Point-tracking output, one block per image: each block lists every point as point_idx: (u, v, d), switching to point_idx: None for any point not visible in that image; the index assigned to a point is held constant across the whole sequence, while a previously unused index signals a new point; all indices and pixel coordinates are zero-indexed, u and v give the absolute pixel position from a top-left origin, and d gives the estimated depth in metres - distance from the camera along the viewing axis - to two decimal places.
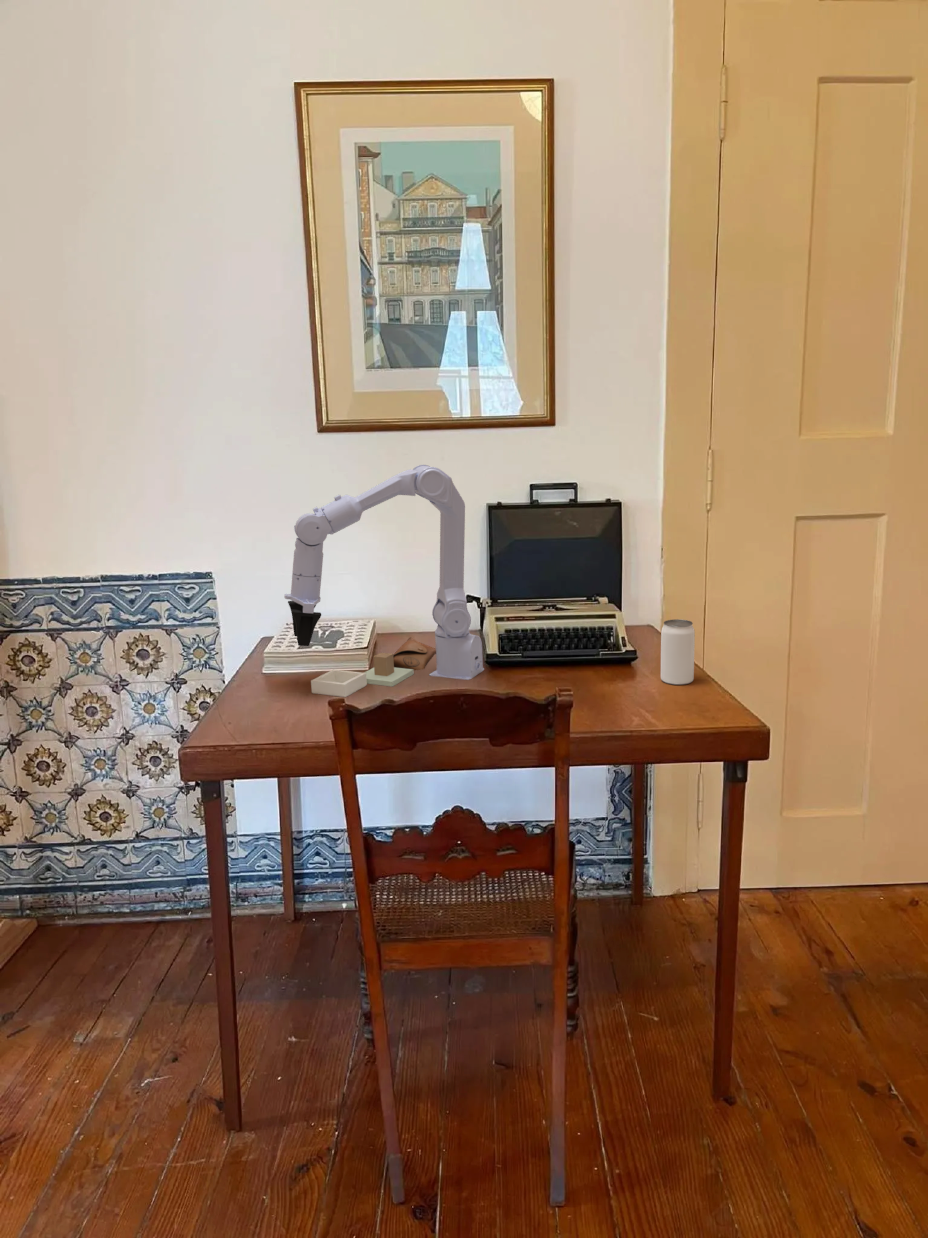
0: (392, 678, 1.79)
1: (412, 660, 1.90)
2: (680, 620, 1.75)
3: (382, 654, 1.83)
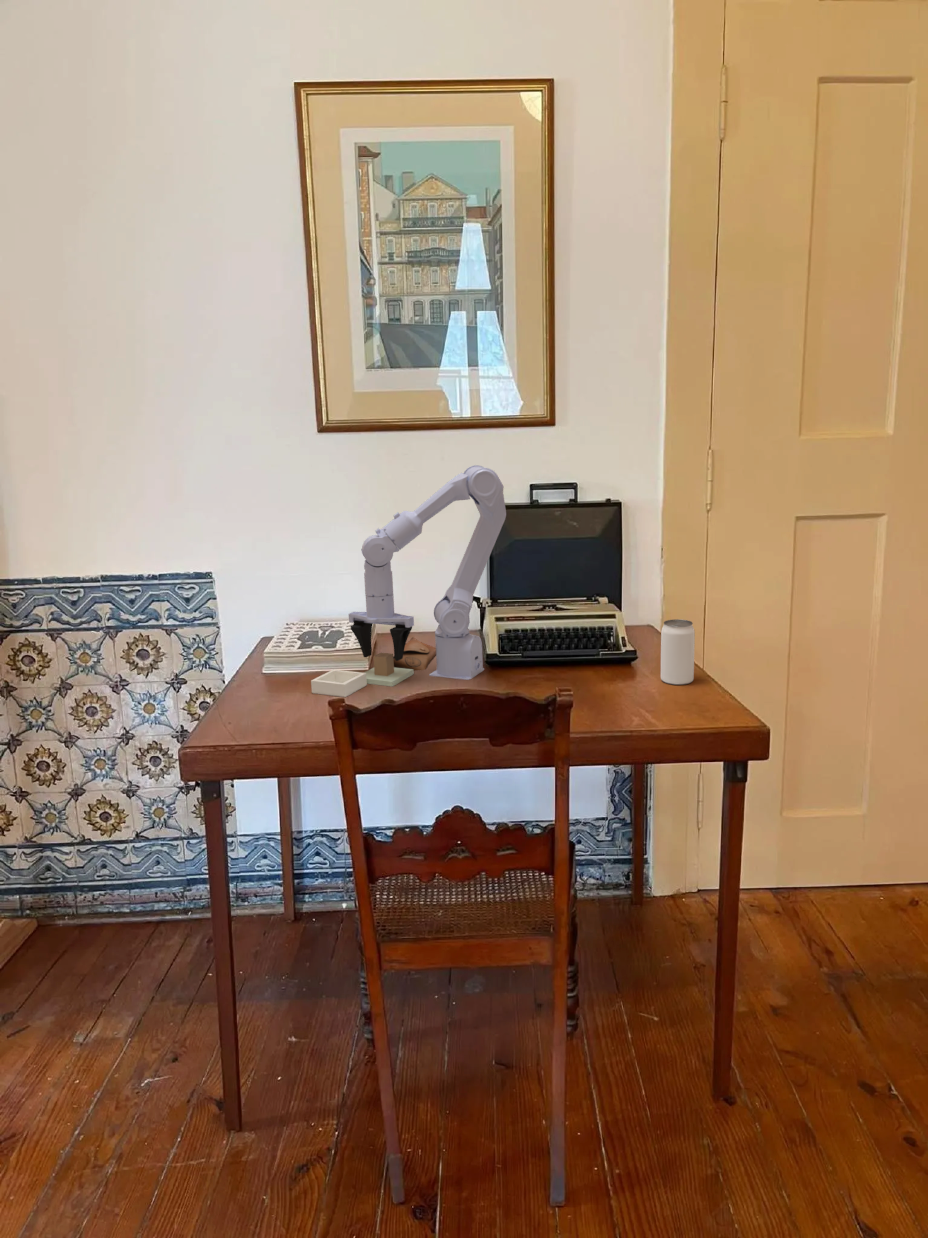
0: (392, 678, 1.79)
1: (414, 660, 1.90)
2: (680, 620, 1.75)
3: (382, 654, 1.83)
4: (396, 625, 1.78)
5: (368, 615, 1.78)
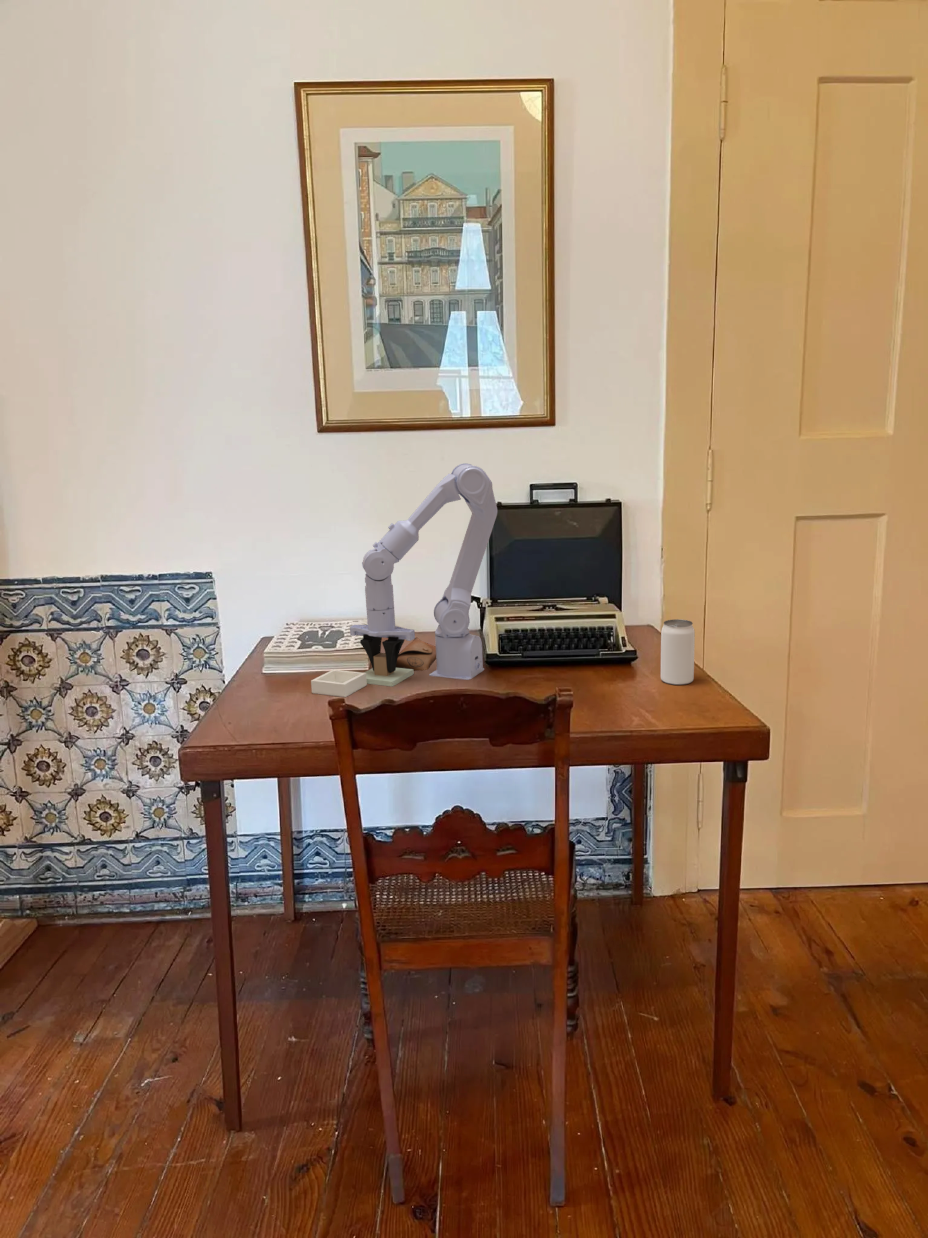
0: (392, 678, 1.79)
1: (416, 660, 1.89)
2: (680, 620, 1.75)
3: (382, 654, 1.83)
4: (397, 638, 1.79)
5: (369, 628, 1.79)
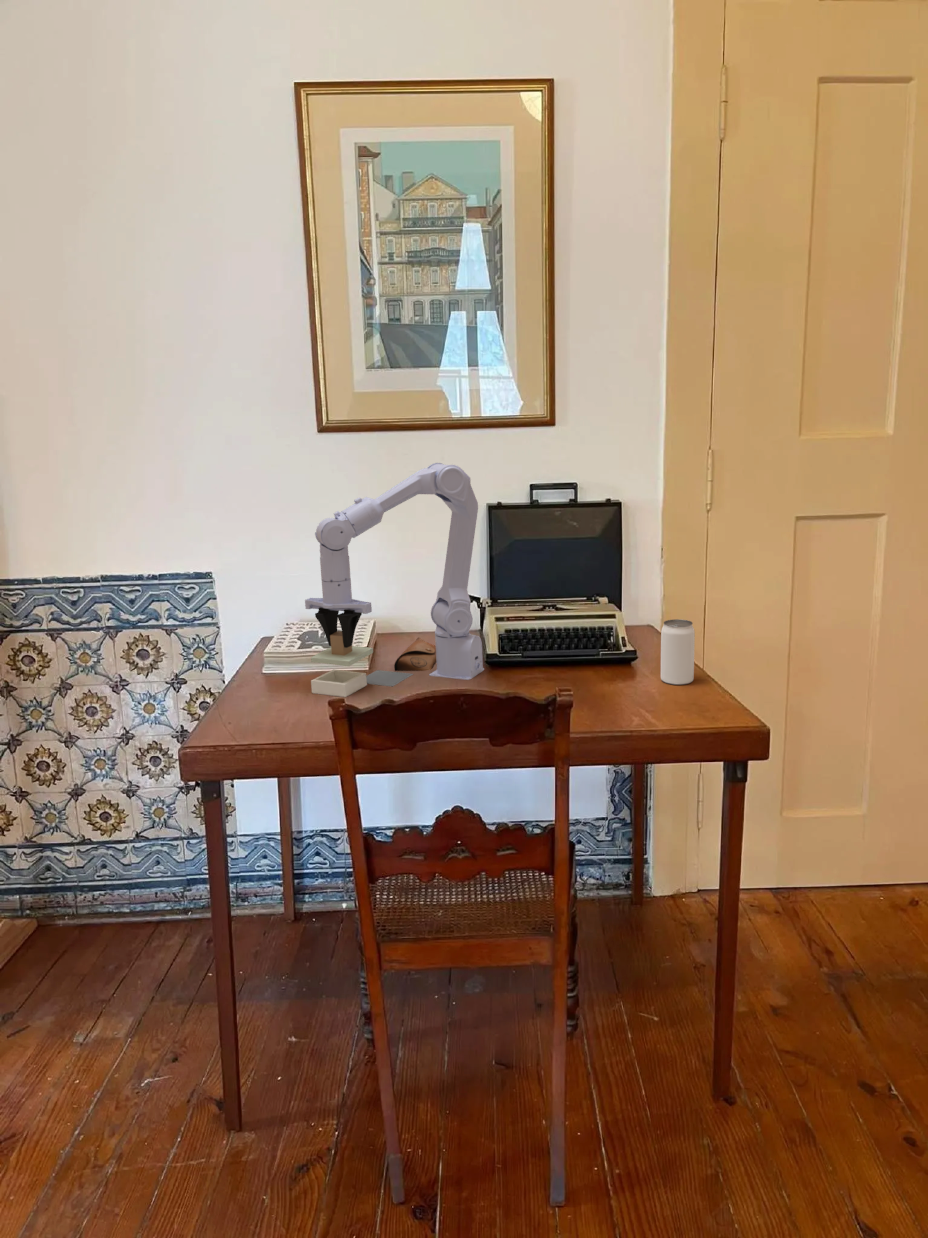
0: (349, 658, 1.73)
1: (419, 660, 1.89)
2: (680, 620, 1.75)
3: (339, 633, 1.76)
4: (353, 611, 1.71)
5: (324, 601, 1.72)
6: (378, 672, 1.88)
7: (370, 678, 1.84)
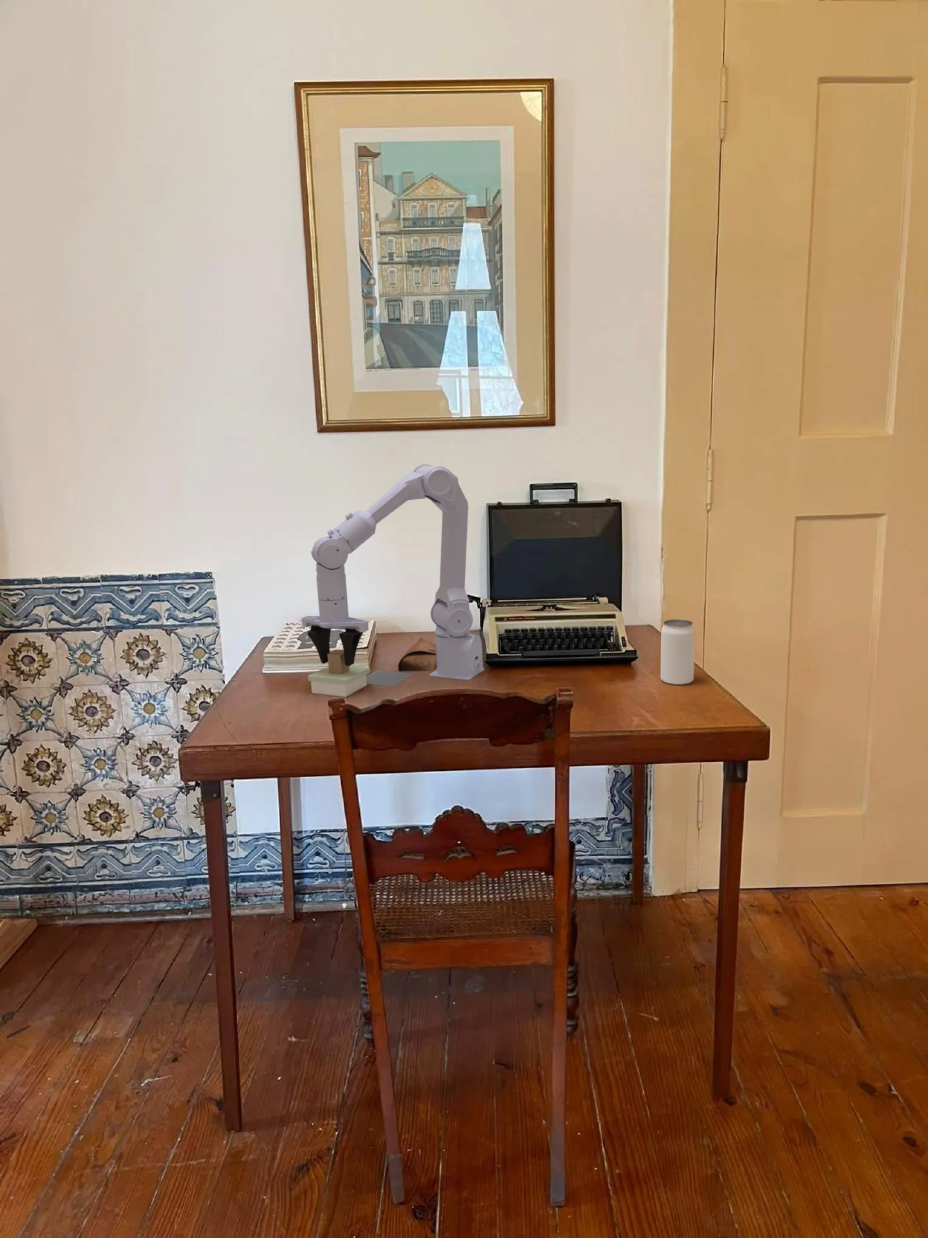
0: (346, 676, 1.73)
1: (423, 661, 1.89)
2: (680, 620, 1.75)
3: (337, 652, 1.76)
4: (350, 630, 1.72)
5: (321, 619, 1.72)
6: (378, 672, 1.88)
7: (370, 678, 1.84)
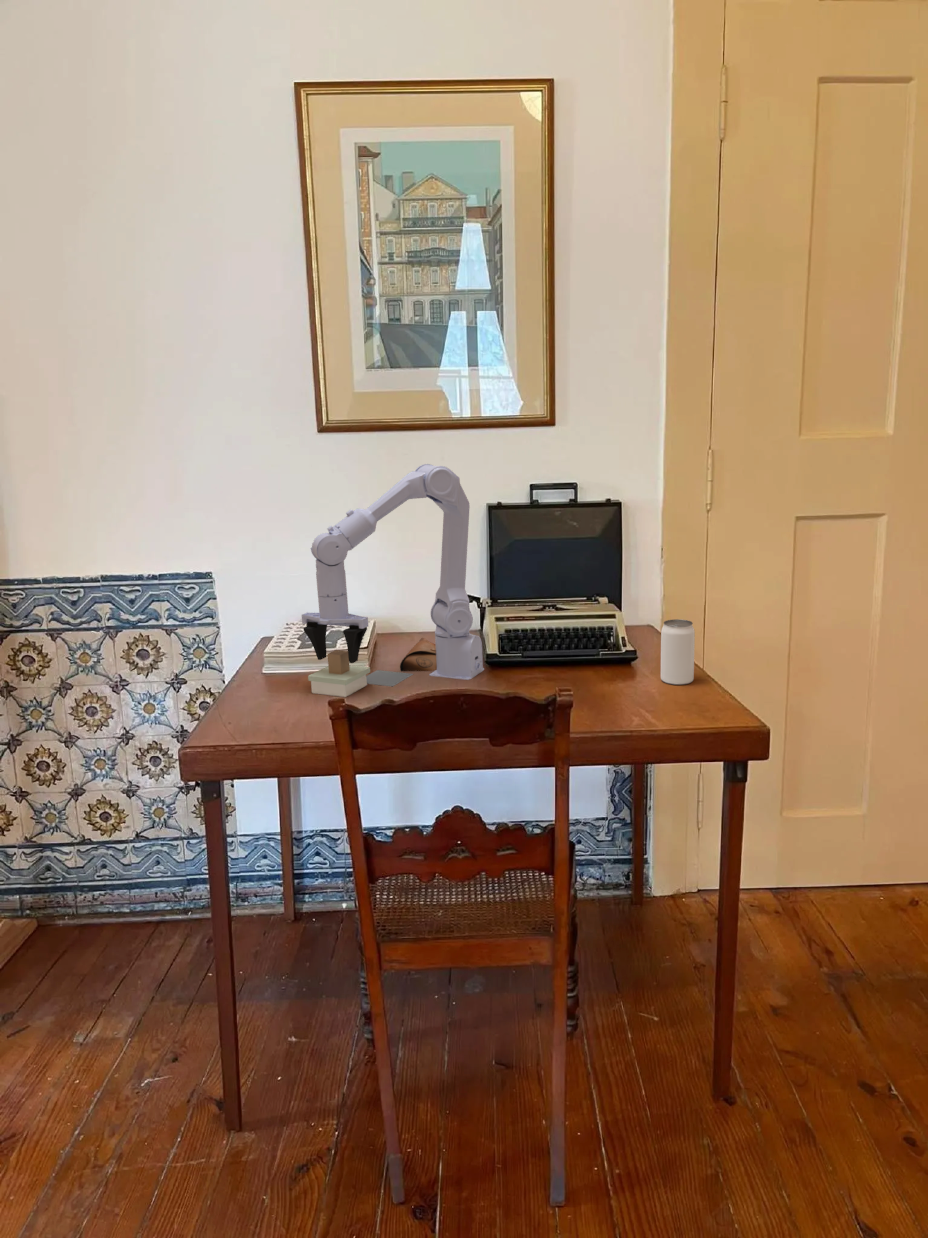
0: (346, 676, 1.73)
1: (425, 661, 1.89)
2: (680, 620, 1.75)
3: (337, 652, 1.76)
4: (350, 626, 1.71)
5: (321, 616, 1.72)
6: (378, 672, 1.88)
7: (370, 678, 1.84)
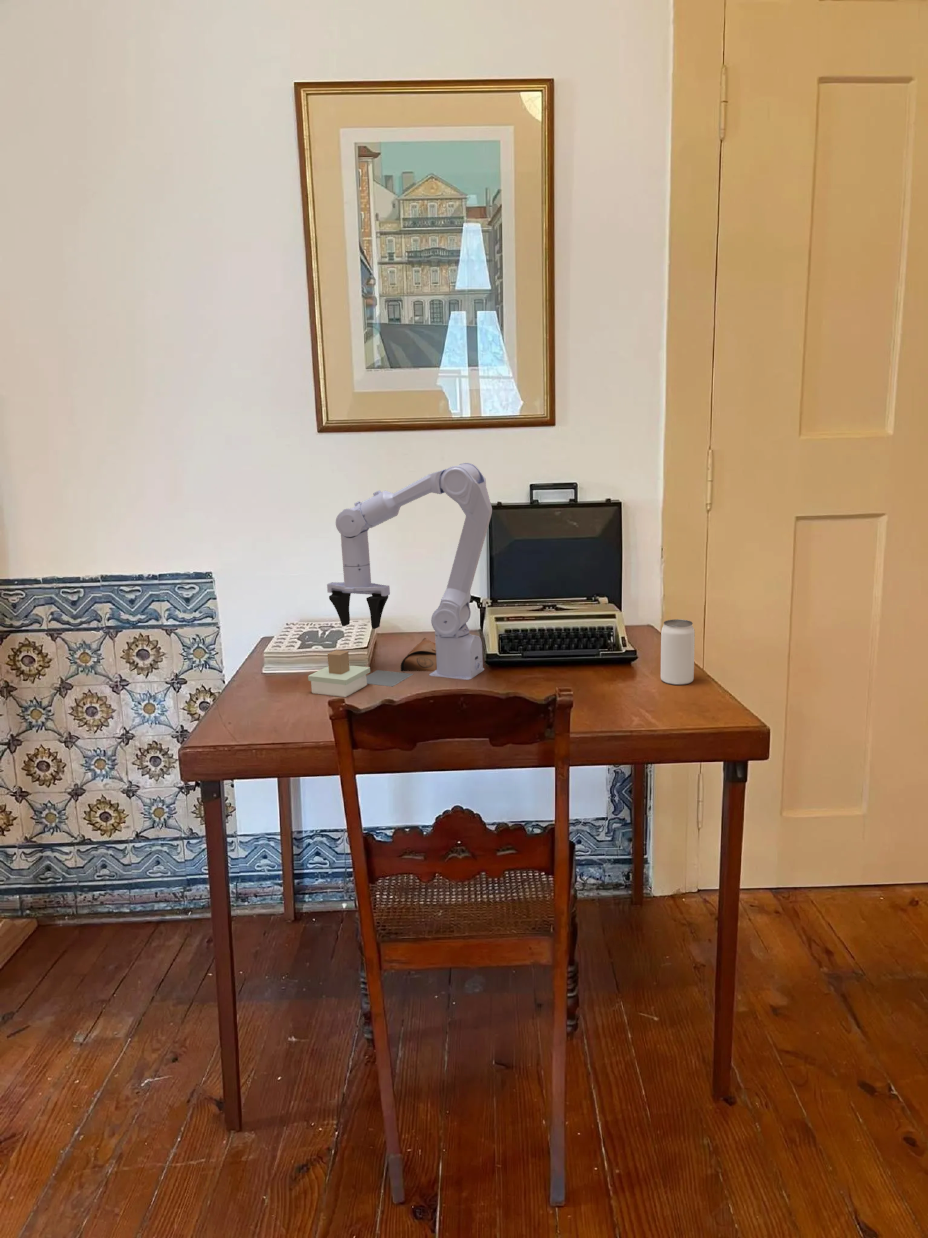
0: (346, 676, 1.73)
1: (426, 661, 1.89)
2: (680, 620, 1.75)
3: (337, 652, 1.76)
4: (373, 594, 1.84)
5: (345, 585, 1.84)
6: (378, 672, 1.88)
7: (370, 678, 1.84)
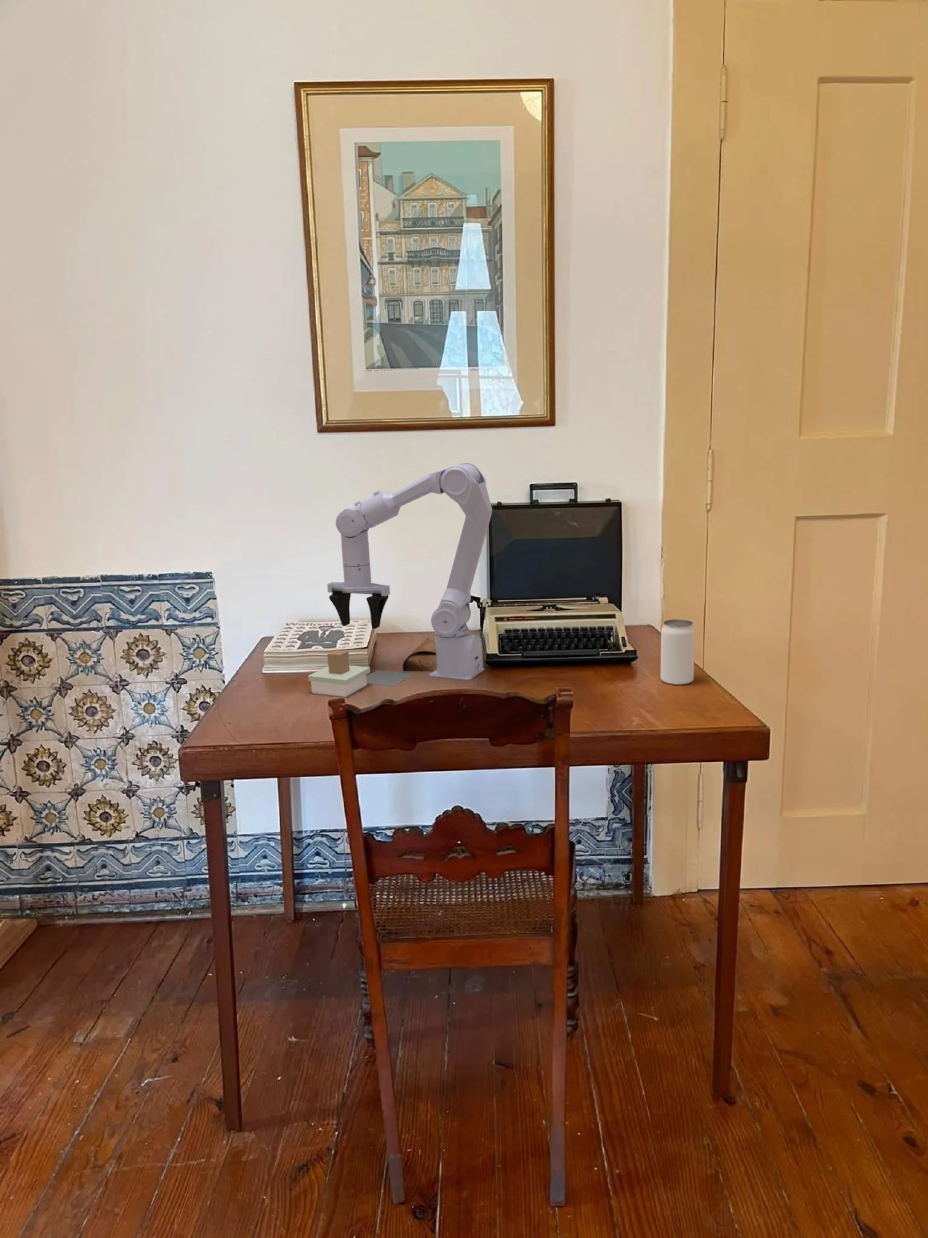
0: (346, 676, 1.73)
1: (428, 661, 1.89)
2: (680, 620, 1.75)
3: (337, 652, 1.76)
4: (373, 594, 1.84)
5: (346, 584, 1.85)
6: (378, 672, 1.88)
7: (370, 678, 1.84)
